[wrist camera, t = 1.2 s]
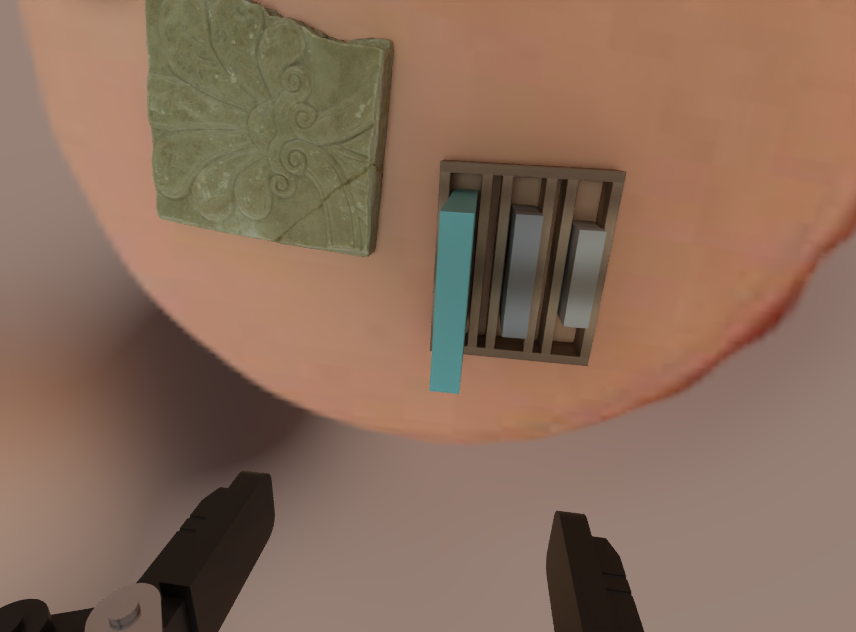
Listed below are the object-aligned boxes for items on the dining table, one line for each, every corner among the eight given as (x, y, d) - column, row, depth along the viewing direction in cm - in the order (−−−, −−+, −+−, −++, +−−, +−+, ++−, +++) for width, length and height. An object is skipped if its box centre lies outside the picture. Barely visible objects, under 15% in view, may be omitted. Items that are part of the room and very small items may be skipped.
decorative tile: (376, 253, 43) (366, 262, 39) (173, 214, 44) (148, 220, 40) (404, 25, 36) (395, 13, 33) (163, -15, 37) (131, -30, 33)
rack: (443, 159, 38) (440, 161, 36) (615, 169, 37) (626, 171, 34) (433, 337, 45) (429, 350, 42) (580, 351, 43) (587, 366, 40)
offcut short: (568, 219, 39) (579, 229, 35) (592, 221, 39) (606, 231, 34) (554, 306, 42) (563, 326, 37) (576, 308, 42) (588, 328, 37)
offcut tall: (511, 203, 39) (516, 214, 34) (534, 205, 39) (543, 216, 34) (499, 311, 43) (501, 336, 37) (520, 313, 43) (526, 339, 37)
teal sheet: (454, 188, 39) (440, 211, 26) (477, 190, 39) (474, 213, 26) (446, 316, 44) (429, 390, 31) (466, 318, 43) (459, 393, 30)
